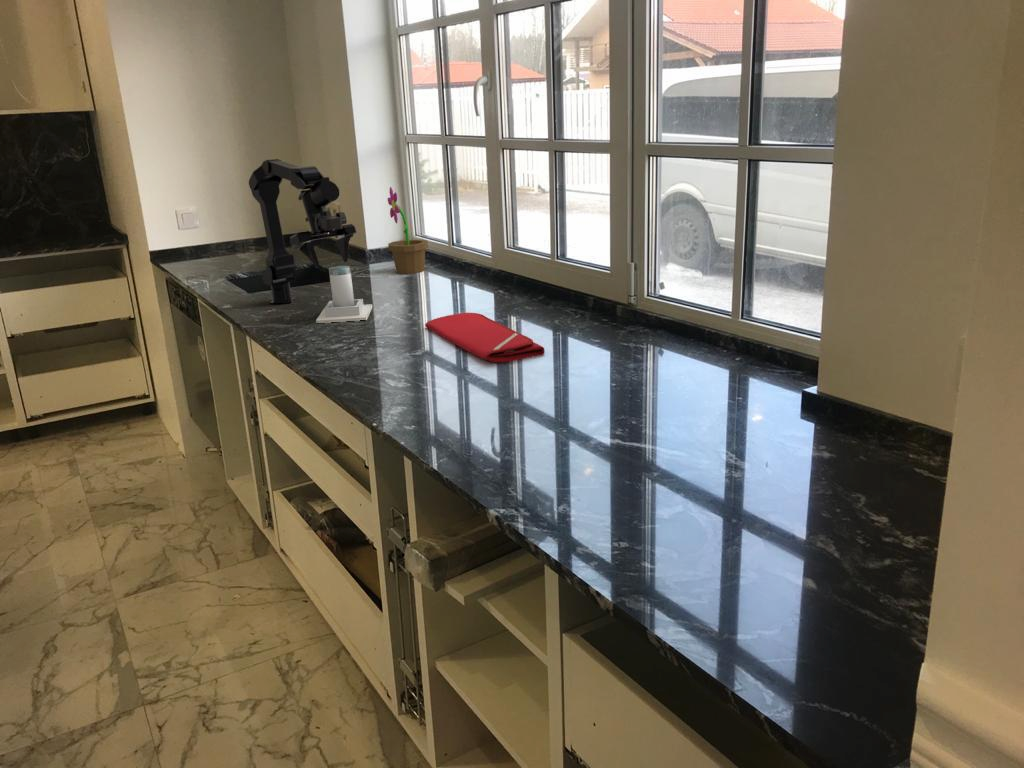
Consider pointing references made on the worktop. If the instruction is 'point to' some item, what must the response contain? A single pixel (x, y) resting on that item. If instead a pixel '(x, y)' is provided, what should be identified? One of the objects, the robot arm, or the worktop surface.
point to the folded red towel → (484, 337)
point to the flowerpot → (406, 245)
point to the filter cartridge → (341, 286)
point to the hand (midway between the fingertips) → (332, 264)
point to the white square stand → (345, 312)
